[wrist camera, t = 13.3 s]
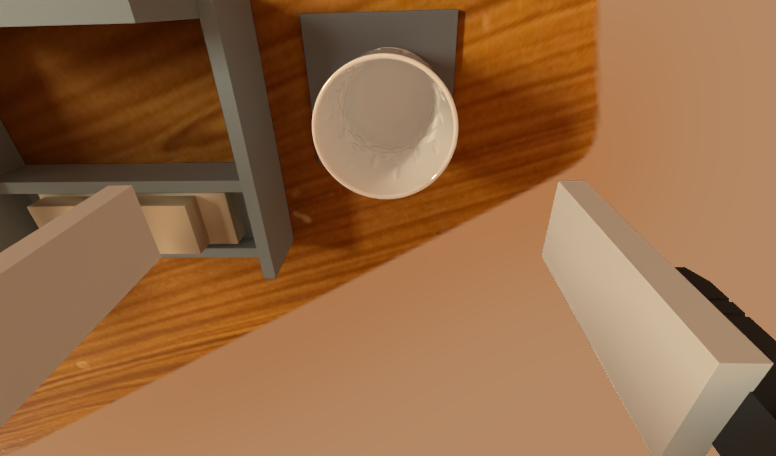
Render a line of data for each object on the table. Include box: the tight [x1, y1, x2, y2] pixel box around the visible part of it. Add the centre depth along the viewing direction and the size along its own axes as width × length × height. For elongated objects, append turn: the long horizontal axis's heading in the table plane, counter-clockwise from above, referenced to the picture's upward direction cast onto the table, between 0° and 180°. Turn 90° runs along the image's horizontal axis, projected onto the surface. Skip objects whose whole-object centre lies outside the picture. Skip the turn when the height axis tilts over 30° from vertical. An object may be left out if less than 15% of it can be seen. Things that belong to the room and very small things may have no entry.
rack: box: [0, 0, 294, 278], centre depth 27 cm, size 24×20×12 cm
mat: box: [300, 9, 458, 163], centre depth 29 cm, size 11×11×1 cm
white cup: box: [312, 46, 459, 199], centre depth 24 cm, size 8×8×10 cm
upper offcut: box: [27, 196, 210, 254], centre depth 32 cm, size 13×5×2 cm, turn 91°
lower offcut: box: [38, 192, 245, 244], centre depth 33 cm, size 16×5×2 cm, turn 91°
